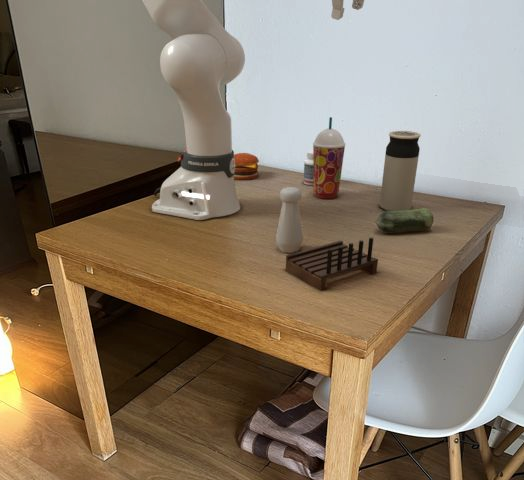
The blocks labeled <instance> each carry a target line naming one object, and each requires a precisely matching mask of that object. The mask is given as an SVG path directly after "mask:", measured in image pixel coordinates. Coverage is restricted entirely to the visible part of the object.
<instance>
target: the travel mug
mask: <svg viewBox="0 0 524 480" xmlns="http://www.w3.org/2000/svg"><path fill="white" fill-rule="evenodd" d="M388 137H389V142H388V144H387V146H386V147H385V148H386V149H385V156H384V164H383V173H382V179H381V188H380V198H379V207H380V208H382V209H383V210H384V211H397V210H411V209H412V204H413V196H414V190H415V183H416V177H417V170H418V165H419V163H418V162H419V156H420V151H421V150H420V149H421V148H420V146H419V143H418V142H419V139H420V138H421V133H419V132H416V131H412V130H393V131H390V132H389V133H388Z"/></svg>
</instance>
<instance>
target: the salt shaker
mask: <svg viewBox="0 0 524 480" xmlns="http://www.w3.org/2000/svg"><path fill="white" fill-rule="evenodd" d="M279 199H280V201H282V204H281V209H280V213H279V219H278V224H277V230H276V234H275V242H276V245H277V247H278V250H279V251H280V252H282V253H285V254H286V253H287V254H293V253H296V252H299V251H300V248H301V246H302V244H303V241H304V235H303V228H302V227H303V226H302V220H301V213H300V211H299V210H300V209H299V201H301V199H302V191H301V189H300V188H298V187H296V186H286V187H283V188H282V189H280V192H279Z"/></svg>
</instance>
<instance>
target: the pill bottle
mask: <svg viewBox="0 0 524 480" xmlns="http://www.w3.org/2000/svg"><path fill="white" fill-rule="evenodd" d="M306 157H307V158H306V159H305V160H304V162H303V163H304V164H303V184H305V185H306V186H314V164H313V149H311V150H307V151H306Z"/></svg>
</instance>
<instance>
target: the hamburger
mask: <svg viewBox="0 0 524 480" xmlns="http://www.w3.org/2000/svg"><path fill="white" fill-rule="evenodd" d="M234 159H235V173H234V180H237V181H248V180H253V179H256V178H257V177H259V173H258V169H259V165H258V163H259V162H260V160H259V158H258V156H256V155H254V154H252V153H248V152H239V153H234Z"/></svg>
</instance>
